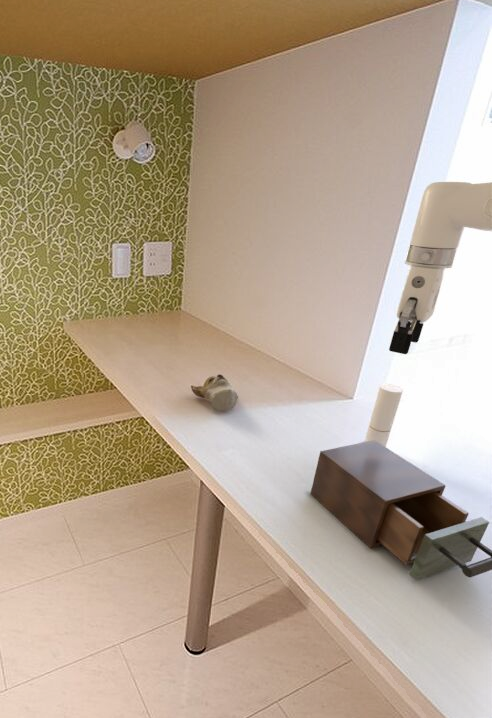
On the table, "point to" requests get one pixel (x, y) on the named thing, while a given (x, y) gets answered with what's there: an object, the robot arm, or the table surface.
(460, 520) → the drawer
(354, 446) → the cabinet
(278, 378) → the table surface
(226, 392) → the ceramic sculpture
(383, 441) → the tube
